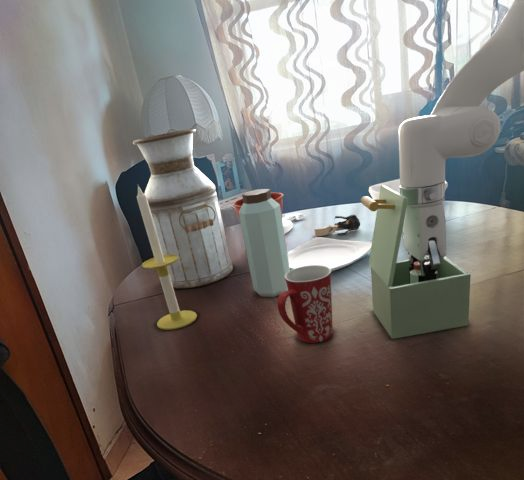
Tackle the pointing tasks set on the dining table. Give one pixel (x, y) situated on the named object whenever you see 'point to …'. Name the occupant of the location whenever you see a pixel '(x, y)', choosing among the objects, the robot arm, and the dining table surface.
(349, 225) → the toy figure
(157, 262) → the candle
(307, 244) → the plate
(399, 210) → the lid
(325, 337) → the mug
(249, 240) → the water bottle
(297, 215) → the spray bottle
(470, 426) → the dining table surface
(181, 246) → the milk can
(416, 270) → the spice bottle
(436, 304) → the chest
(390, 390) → the dining table surface
